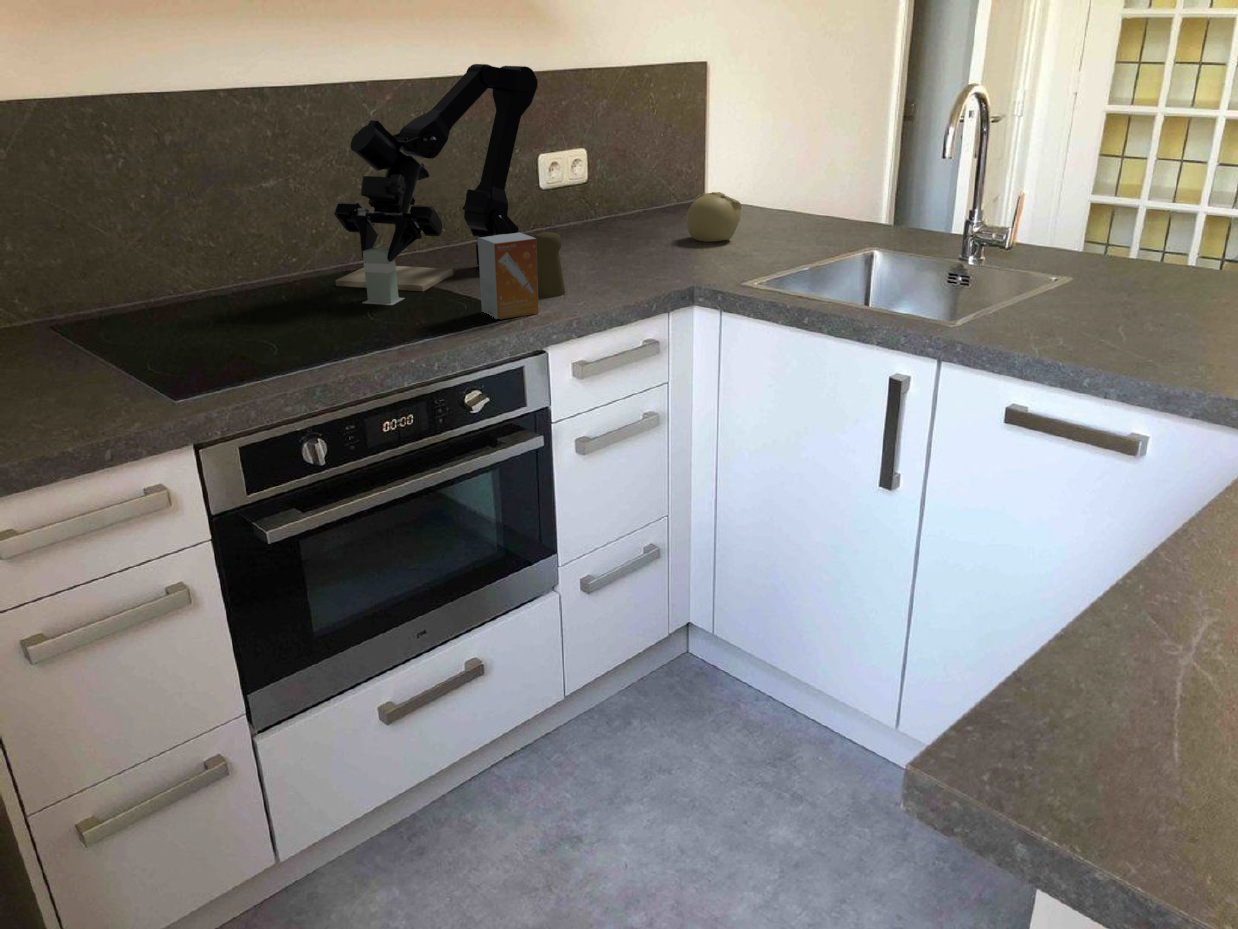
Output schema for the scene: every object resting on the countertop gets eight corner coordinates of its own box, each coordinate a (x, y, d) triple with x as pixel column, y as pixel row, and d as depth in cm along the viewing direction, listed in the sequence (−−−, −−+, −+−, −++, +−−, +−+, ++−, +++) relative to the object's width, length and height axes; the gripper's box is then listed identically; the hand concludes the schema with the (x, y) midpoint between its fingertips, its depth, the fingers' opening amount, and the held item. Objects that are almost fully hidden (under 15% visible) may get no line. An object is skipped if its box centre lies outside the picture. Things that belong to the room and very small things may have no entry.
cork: (570, 290, 185) (568, 230, 180) (558, 298, 180) (556, 237, 175) (540, 287, 187) (538, 228, 182) (527, 295, 181) (524, 234, 177)
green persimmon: (746, 238, 228) (748, 190, 224) (722, 247, 219) (724, 197, 215) (702, 233, 234) (703, 186, 230) (677, 242, 225) (678, 193, 220)
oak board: (453, 275, 196) (452, 269, 196) (423, 292, 184) (422, 285, 184) (371, 270, 201) (370, 264, 200) (336, 286, 188) (335, 280, 188)
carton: (399, 298, 179) (394, 249, 175) (391, 303, 176) (386, 252, 172) (376, 297, 180) (370, 247, 176) (367, 301, 177) (362, 251, 173)
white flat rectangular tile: (405, 298, 179) (405, 297, 179) (392, 305, 175) (392, 304, 175) (375, 297, 181) (374, 295, 181) (361, 303, 176) (361, 302, 176)
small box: (497, 321, 166) (493, 243, 161) (481, 312, 171) (476, 236, 165) (540, 313, 170) (537, 237, 165) (522, 305, 175) (519, 231, 169)
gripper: (332, 155, 174) (307, 230, 169) (430, 158, 170) (407, 235, 164) (359, 194, 184) (336, 266, 179) (452, 197, 180) (431, 271, 174)
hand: (376, 259), depth 174 cm, fingers closed on carton, 4 cm apart
